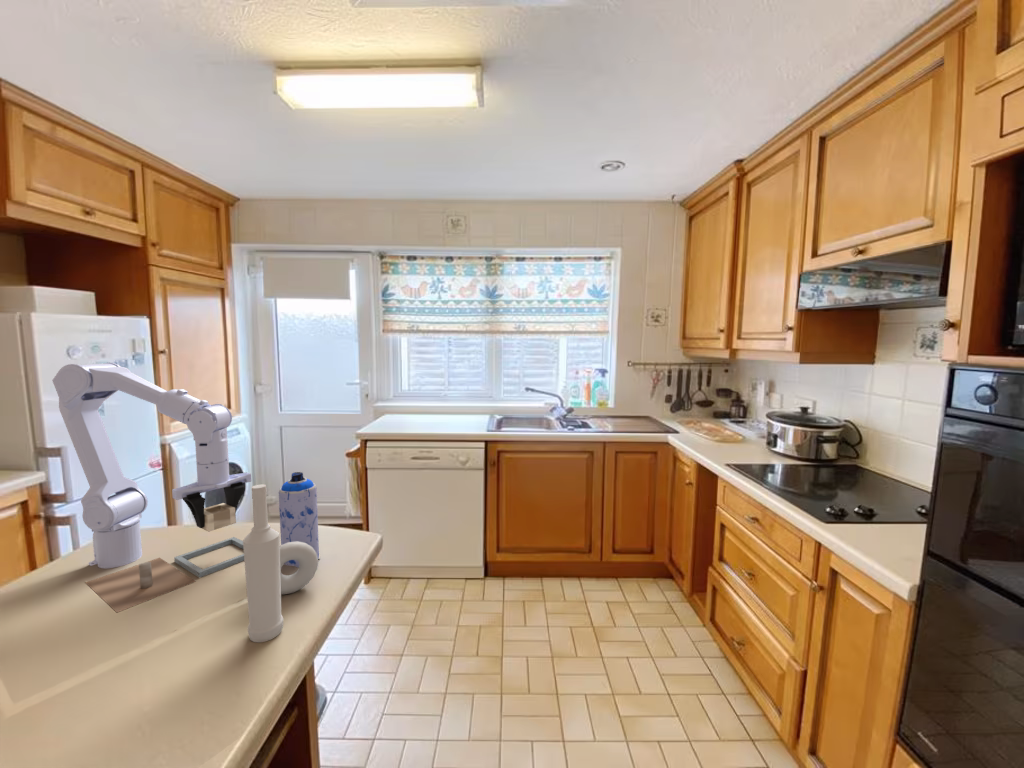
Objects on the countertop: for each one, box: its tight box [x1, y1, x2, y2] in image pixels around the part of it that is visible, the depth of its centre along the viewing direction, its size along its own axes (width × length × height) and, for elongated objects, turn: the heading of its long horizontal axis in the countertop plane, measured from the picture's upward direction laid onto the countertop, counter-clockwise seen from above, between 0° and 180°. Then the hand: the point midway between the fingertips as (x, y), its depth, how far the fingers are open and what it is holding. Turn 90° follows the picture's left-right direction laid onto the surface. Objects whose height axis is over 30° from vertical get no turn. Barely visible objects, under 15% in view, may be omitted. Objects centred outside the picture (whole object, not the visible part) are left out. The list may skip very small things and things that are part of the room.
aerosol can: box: [278, 471, 320, 569], centre depth 95 cm, size 8×8×20 cm
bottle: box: [242, 483, 284, 643], centre depth 70 cm, size 5×5×25 cm
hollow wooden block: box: [201, 502, 237, 532], centre depth 94 cm, size 5×5×4 cm
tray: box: [173, 536, 245, 579], centre depth 95 cm, size 12×12×2 cm
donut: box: [280, 541, 319, 595], centre depth 83 cm, size 10×4×10 cm, turn 127°
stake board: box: [84, 557, 197, 613], centre depth 85 cm, size 18×12×6 cm, turn 57°
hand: (216, 521), depth 94 cm, fingers closed on hollow wooden block, 5 cm apart
